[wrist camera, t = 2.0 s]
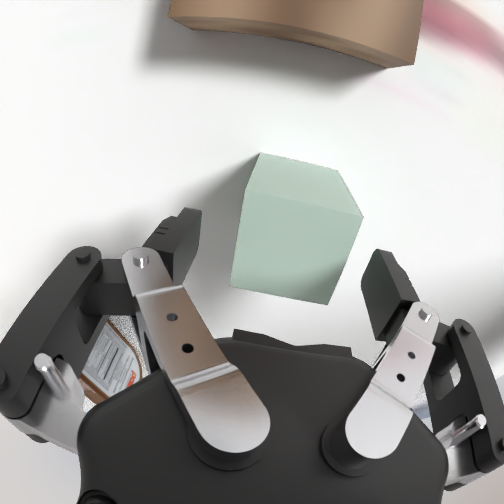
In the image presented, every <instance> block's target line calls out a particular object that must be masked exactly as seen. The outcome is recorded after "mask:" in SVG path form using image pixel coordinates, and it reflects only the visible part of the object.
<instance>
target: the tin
mask: <svg viewBox="0 0 504 504" xmlns="http://www.w3.org/2000/svg"><path fill="white" fill-rule="evenodd" d="M141 379H142V369H141V365H140V361H139V358H138V356H137V354H136V352H135V350H134V349H133V347H132V346H131V345H130V344H129V343H128V342H127V340H126V339H125V338H124V337H123V336H122V335H121V334H120V333H119V331H118V330H117V329H116V328H115V327H114V326H113V324H112V323H111V322H110V321H109V320H107V322H106V324H105V326H104V328H103V330H102V331H101V333H100V335H99V337H98V339H97V341H96V343H95V345H94V348H93V350H92V352H91V354H90V356H89V358H88V360H87V362H86V364H85V367H84V369H83V371H82V373H81V375H80V378H79V382H80V384H81V386H82V388H83V390H84V394H85V396H86V397H88V398H89V399H90V400H91V401H92V402H94V403H95V404H99V403H100V402H102V401H104V400H106V399H107V398H109V397H111V396H113V395H115V394H116V393H118V392H120V391H122V390H124V389H125V388H127V387H129V386H131V385H132V384H134V383H136V382H138V381H139V380H141Z"/></svg>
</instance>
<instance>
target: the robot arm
mask: <svg viewBox="0 0 504 504" xmlns="http://www.w3.org/2000/svg"><path fill="white" fill-rule="evenodd" d="M201 215H202V213H201V210H196V209H190V208H184V209H183V210H182V211H181V213H180V214H179V215H178V217H174V216H170V217H168V218H166V219H164V220H163V221H162V222H161V223H160V224H159V226H158V228H156V229H155V231H154V233H152V234H151V236H150V237H149V238H148V239H147V241H146V242H145V243H144V245H143V246H142V247H137V248H133V249H130V250H128V251H127V252H125V253H124V255H123V256H122V259H102V258H101V252H100V251H99V250H98V249H97V248H95V247H91V246H83V247H79V248H76V249H74V250H72V251H71V252H70V253H69V254H68V255H67V256H66V257H65V258H64V259H63V260H62V262H61V263H60V264H59V265H58V266H57V268H56V269H55V270H54V271H53V272H52V273H51V275H50V276H49V277H48V278H47V280H46V281H45V282H44V283H43V285H42V286H41V287H40V288H39V290H38V291H37V292H36V293H35V295H34V296H33V297H32V299H31V300H30V301H29V303H28V304H27V305H26V307H25V308H24V309H23V311H22V312H21V314H20V315H19V316H18V318H17V319H16V321H15V322H14V324H13V325H12V327H11V328H10V329H9V331H8V332H7V334H6V336H5V337H4V339H3V340H2V342H1V343H0V413H1V414H2V415H3V416H4V417H5V418H6V419H7V420H8V421H9V422H11V423H12V424H13V425H14V426H15V427H16V428H18V429H19V430H20V431H21V432H23V433H25V434H26V435H27V436H29V437H30V438H31V439H32V440H34V441H36V442H39V443H45V442H51V443H53V444H56V445H58V446H59V447H62V448H64V449H66V450H68V451H70V452H73V453H75V454H77V455H78V456H79V461H80V468H81V489H80V495H79V498H78V501H77V504H441V500H442V495H443V491H444V490H446V491H453V490H456V489H458V488H460V487H462V486H464V485H466V484H468V483H470V482H472V481H474V480H476V479H478V478H480V477H482V476H484V475H486V474H488V473H489V472H491V471H493V470H495V469H496V468H498V467H500V466H501V465H503V464H504V405H503V402H502V398H501V395H500V392H499V390H498V386H497V384H496V381H495V378H494V375H493V373H492V370H491V367H490V365H489V362H488V360H487V357H486V355H485V353H484V350H483V348H482V346H481V343H480V341H479V339H478V337H477V335H476V332H475V330H474V329H473V327H472V326H471V325H470V324H469V323H467V322H466V321H464V320H462V319H456V320H455V321H454V322H453V323H452V325H451V326H447V325H445V324H443V323H440V322H439V317H438V314H437V313H436V311H435V310H434V309H433V308H432V307H431V306H429V305H428V304H426V303H423V302H420V300H419V298H418V296H417V294H416V292H415V290H414V288H413V286H412V284H411V282H410V280H409V278H408V276H407V274H406V272H405V271H404V270H403V269H402V268H401V267H400V265H399V264H398V263H397V261H396V260H395V258H394V256H393V254H392V253H391V252H388V251H384V250H380V249H376V250H375V251H374V252H373V254H372V257H371V259H370V261H369V263H368V266H367V268H366V270H365V272H364V274H363V277H362V280H361V290H362V293H363V296H364V300H365V303H366V307H367V310H368V314H369V318H370V321H371V325H372V329H373V333H374V336H375V340H377V341H386V345H385V346H384V347H383V349H382V350H381V352H380V353H379V355H378V357H377V358H376V360H375V361H374V363H373V364H372V366H369V365H368V364H366V363H365V362H363V361H361V360H359V359H357V358H355V357H352V352H351V347H343V346H335V345H327V344H319V345H305V346H294V345H291V344H288V343H285V342H283V341H280V340H277V339H275V338H272V337H269V336H267V335H264V334H259V333H254V332H248V331H243V330H238V329H234V332H233V336H232V337H228V338H218V339H214V338H213V337H212V335H211V333H210V332H209V330H208V328H207V327H206V325H205V323H204V322H203V320H202V318H201V316H200V315H199V313H198V311H197V310H196V308H195V306H194V304H193V303H192V301H191V299H190V297H189V296H188V294H187V292H186V290H185V289H184V287H183V286H182V283H183V281H184V279H185V277H186V274H187V272H188V270H189V268H190V266H191V264H192V262H193V260H194V258H195V255H196V253H197V250H198V245H199V236H200V226H201ZM110 315H128V316H130V320H131V323H132V326H133V329H134V331H135V334H136V337H137V340H138V343H139V346H140V348H141V351H142V354H143V357H144V361H145V364H146V368H147V371H148V373H149V375H148V376H146V377H144V378H143V379H141V380H139V381H138V382H136V383H134V384H132V385H131V386H129V387H127V388H125V389H124V390H122V391H120V392H118V393H116V394H115V395H113V396H111V397H109V398H107V399H106V400H104V401H102V402H100V403H99V404H97V405H95V406H94V407H93V408H92V409H91V410H89V411H88V413H87V414H85V413H83V403H84V399H85V394H84V390H83V388H82V386H81V384H80V382H79V378H80V375H81V373H82V371H83V369H84V367H85V364H86V362H87V360H88V358H89V356H90V354H91V352H92V350H93V348H94V345H95V343H96V341H97V339H98V337H99V335H100V333H101V331H102V330H103V328H104V326H105V324H106V322H107V320H108V318H109V316H110ZM456 363H458V366H459V369H460V372H461V378H460V381H459V383H458V384H457V385H456V386H455V387H454V385H453V381H452V378H451V375H450V369H451V368H452V367H453V366H454V365H455V364H456ZM423 383H424V387H425V391H426V396H427V401H428V406H429V411H430V416H431V421H432V427H433V433H432V432H431V431H430V430H429V429H428V428H427V426H426V425H425V424H424V423H423V422H422V421H421V420H420V419H419V418H418V416H417V415H416V414H415V413H414V412H413V410H412V407H413V405H414V403H415V400H416V398H417V396H418V393H419V391H420V389H421V386H422V384H423Z"/></svg>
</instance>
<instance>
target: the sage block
mask: <svg viewBox="0 0 504 504" xmlns="http://www.w3.org/2000/svg"><path fill="white" fill-rule="evenodd" d="M362 220H363V215H362V213H361V211H360V209H359V207H358V205H357V204H356V202H355V200H354V198H353V196H352V194H351V193H350V191H349V189H348V187H347V185H346V184H345V182H344V180H343V178H342V177H341V175H340V173H339V172H338V170H334V169H331V168H327V167H323V166H319V165H315V164H311V163H307V162H302V161H298V160H294V159H289V158H285V157H280V156H275V155H270V154H265V153H260V155H259V157H258V160H257V162H256V164H255V167H254V169H253V172H252V174H251V177H250V179H249V182H248V184H247V187H246V189H245V194H244V199H243V205H242V211H241V217H240V223H239V229H238V235H237V241H236V247H235V253H234V259H233V265H232V272H231V278H230V284H229V286H232V287H236V288H241V289H246V290H251V291H256V292H261V293H266V294H271V295H276V296H281V297H286V298H291V299H297V300H302V301H307V302H313V303H318V304H324V305H328V303H329V301H330V298H331V296H332V294H333V292H334V289H335V287H336V285H337V283H338V280H339V278H340V276H341V273H342V271H343V268H344V266H345V264H346V261H347V259H348V256H349V254H350V251H351V249H352V246H353V244H354V241H355V239H356V236H357V233H358V231H359V228H360V225H361V223H362Z"/></svg>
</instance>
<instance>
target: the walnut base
mask: <svg viewBox="0 0 504 504" xmlns="http://www.w3.org/2000/svg"><path fill="white" fill-rule="evenodd" d="M423 1H424V0H171V4H170V9H169V13H168V17H169V18H171V19H173V20H175V21H177V22H179V23H180V24H182V25H184V26H186V27H188V28H190V29H192V30H208V31H225V32H236V33H246V34H254V35H262V36H268V37H275V38H280V39H286V40H291V41H296V42H301V43H306V44H310V45H314V46H318V47H322V48H326V49H330V50H334V51H337V52H341V53H344V54H347V55H351V56H354V57H357V58H360V59H363V60H366V61H369V62H372V63H375V64H377V65H380V66H383V67H385V68H394V67H401V66H408V65H414V61H415V56H416V51H417V45H418V39H419V32H420V25H421V18H422V10H423Z"/></svg>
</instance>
